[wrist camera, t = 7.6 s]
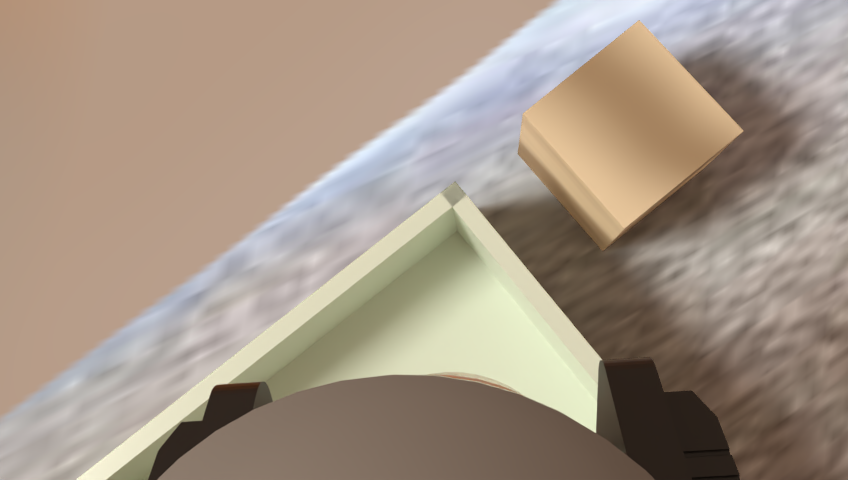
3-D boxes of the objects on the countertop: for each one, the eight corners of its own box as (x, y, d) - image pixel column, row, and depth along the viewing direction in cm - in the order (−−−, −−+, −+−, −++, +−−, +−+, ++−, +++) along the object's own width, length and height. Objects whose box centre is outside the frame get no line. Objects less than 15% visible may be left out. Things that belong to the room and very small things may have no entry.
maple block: (602, 251, 30) (624, 228, 25) (517, 154, 31) (522, 113, 26) (702, 169, 30) (743, 131, 26) (615, 75, 31) (639, 20, 26)
